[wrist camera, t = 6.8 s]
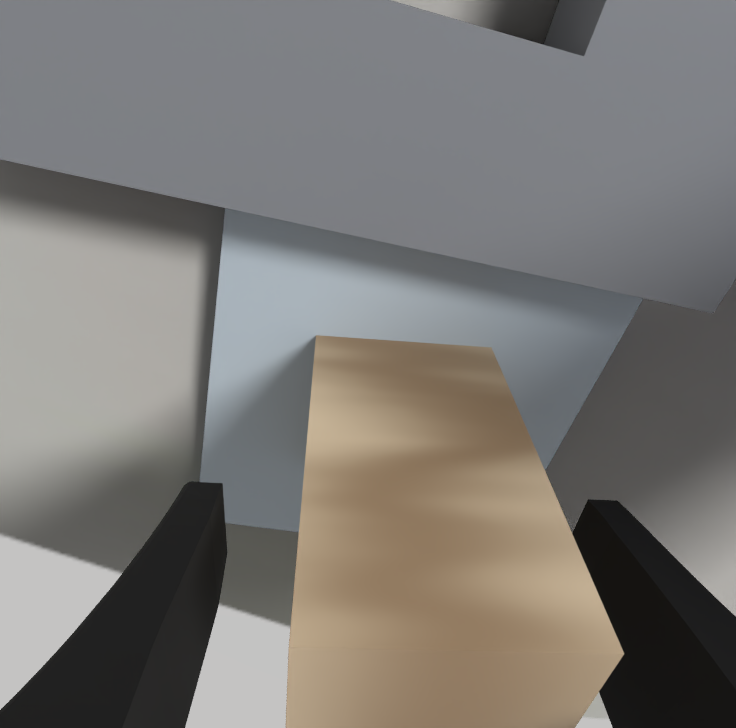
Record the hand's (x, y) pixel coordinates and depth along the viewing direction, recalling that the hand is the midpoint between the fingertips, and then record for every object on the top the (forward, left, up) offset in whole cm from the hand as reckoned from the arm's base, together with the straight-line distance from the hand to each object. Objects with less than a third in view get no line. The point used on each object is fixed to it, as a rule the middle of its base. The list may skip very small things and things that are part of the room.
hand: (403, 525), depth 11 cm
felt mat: (0, 0, -4) cm, 4 cm away
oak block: (0, 0, -3) cm, 3 cm away
